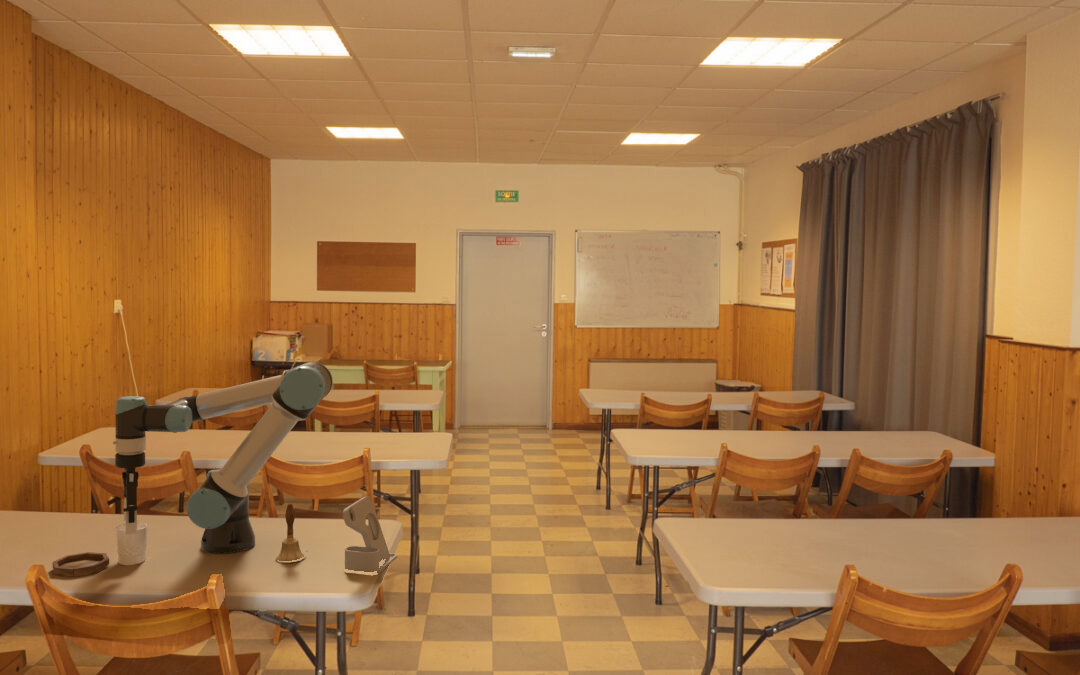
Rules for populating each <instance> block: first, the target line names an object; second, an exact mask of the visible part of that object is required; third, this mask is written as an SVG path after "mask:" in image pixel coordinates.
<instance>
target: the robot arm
mask: <svg viewBox="0 0 1080 675" xmlns="http://www.w3.org/2000/svg"><path fill="white" fill-rule="evenodd" d="M332 387H333V376H332V374H331V371H330V370H329V368H328V367H326V365H323V364H322V363H320V362H316V361H309V362H305V363H302V364H301V365H297V366H295V367H293V368H290V369H287V370H284V371H283V372H282V374H279V375H275V376H271V377H267V378H262V379H258V380H254V381H251V382H245V383H243V384H238V385H234V386H229V387H225V388H220V389H217V390H213V391H212V390H211V391H207V392H204V393H199V394H196V395H190V396H184V397H180V398H178V399H177V400H175V401H171V402H170V403H166V404H148V403H147V401H146V398H145V397H144V396H137V395H131V396H129V395H128V396H121V397H118V398H117V400H116V402H115V413H114V418H115V420H114V421H115V424H114V425H115V434H114V435H115V440H113V441H112V445H115V452H116V453H115V454H114V455H115V456H114V458H115V460H114V461H115V462H114V465H115V467H116V468H118V469H124V471H122V474H121V477H122V484H123V509H122V510H123V521H124V522H125V524H126V535H127V534H136V533H137V523H138V500H137V499H138V496H137V495H138V492H137V489H138V486H139V485H138V484H139V483H138V482H139V481H138V480H139V477H140V476H139V471H138V470H136V468H141V467H143V466H145V464H146V452H145V451H146V449H147V448H146V447H147V446H146V444H147V443H146V442H147V441H146V439H147V438H146V432H148V433H149V432H150V433H151V432H156V433H158V432H159V433H174V434H177V433H185V432H187V431H189V430H190V428H191V426H192V424H193V423H194V422H198V421H203V420H207V419H211V418H216V417H219V416H224V415H227V414H232V413H236V412H240V411H245V410H248V409H253V408H257V407H261V406H266V405H270V406H269V407H268V409H267V410H266V411H265V413H264V414H263V415H262V416H261V417H260V419H259V420H258V421H257V423H255V426H254V427H253V428H252V429H251V430H250V432H249V433H248V434H247V436H246V437H245V438H244V439H243V441H242V442H241V443H240V445H238V447H237V448H236V450H235V451H234V452H233V453H232V455H231V456H230V457H229V459H228V460H227V461H226V462H225V463H224V465H223V466H222V468H220V469H212V470H209V471H208V472H207V474H206V478H205V480H204V482H203V483H202V484H201V485H200V487H199V488H198V489H197V490H195V491H194V492H192V494H190V497H189V498H188V500H187V502H186V513H187V516H188V518H189V519H190V521H191V522H192V523H193V524H194V525H195V526H197V527H199V528H201V529H204V530H203V533H202V537H201V540H200V548H201V550H202V551H203V552H206V553H209V554H229V553H237V552H242V551H245V550H248V549H250V548H252V547H254V546H255V544H256V536H255V533H254V529H253V527H252V524H251V521H250V515H249V513H250V512H249V511H250V508H249V506H250V504H249V503H250V502H249V501H250V497H249V496H250V495H249V494H250V493H249V492H250V483H251V482H252V480H253V479H254V478H255V477H256V475H257V474H258V473H259V471H260V470H261V469H262V467H264V466H265V464H266V462H268V460H269V459H270V458H271V456H273V454H274V452H275V451H276V450H277V448H278V447H279V446H280V444H282V442H283V441H284V439H286V437H288V436H287V435H289V433H291V431H292V429H293V428H294V427H295V426H296V425H297V423H298V422H299V421H305V420H307V419H308V417H310V415H311V414H312V413H313V411H314V410H315V409H316V408H317V406H318V405H319V404H320V403H321V401H322V400H324V398H326V397H327V396H328V394H330V392H331V390H332Z"/></svg>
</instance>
